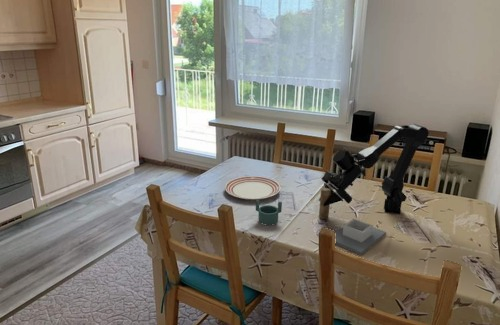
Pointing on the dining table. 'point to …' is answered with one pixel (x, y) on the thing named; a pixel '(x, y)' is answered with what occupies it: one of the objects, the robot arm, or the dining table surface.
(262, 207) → the teal handled pot
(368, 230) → the cup socket
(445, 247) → the dining table surface
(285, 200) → the dining table surface
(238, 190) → the dinner plate
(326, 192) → the dowel post
